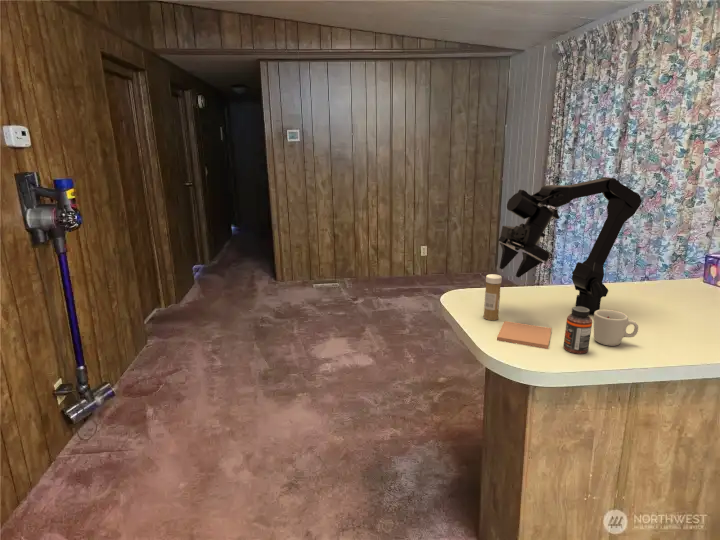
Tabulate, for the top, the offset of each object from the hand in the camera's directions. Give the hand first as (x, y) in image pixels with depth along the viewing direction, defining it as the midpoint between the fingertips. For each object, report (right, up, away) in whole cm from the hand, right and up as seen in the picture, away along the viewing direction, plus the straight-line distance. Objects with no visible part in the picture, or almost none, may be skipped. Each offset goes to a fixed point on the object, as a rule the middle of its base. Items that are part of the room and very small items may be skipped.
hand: (508, 272), depth 141 cm
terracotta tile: (+2, -17, -9) cm, 20 cm away
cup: (+24, -19, -13) cm, 33 cm away
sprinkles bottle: (-4, -14, +4) cm, 15 cm away
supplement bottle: (+12, -20, -18) cm, 29 cm away
